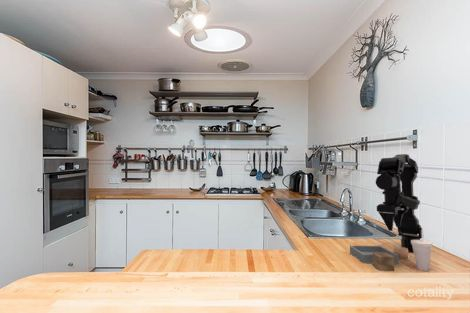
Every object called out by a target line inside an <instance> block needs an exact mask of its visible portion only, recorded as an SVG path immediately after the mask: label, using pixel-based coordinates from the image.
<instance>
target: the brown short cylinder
mask: <svg viewBox="0 0 470 313" xmlns="http://www.w3.org/2000/svg"><path fill="white" fill-rule="evenodd" d="M393 253H395V254H397V255H398V259H399V260H402V261H403V260H404V261H405V260H406V261H407V260H409V258H410V257H409V252H408V248H405V247H401V245H400V246H399V245H398V246H393Z"/></svg>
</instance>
